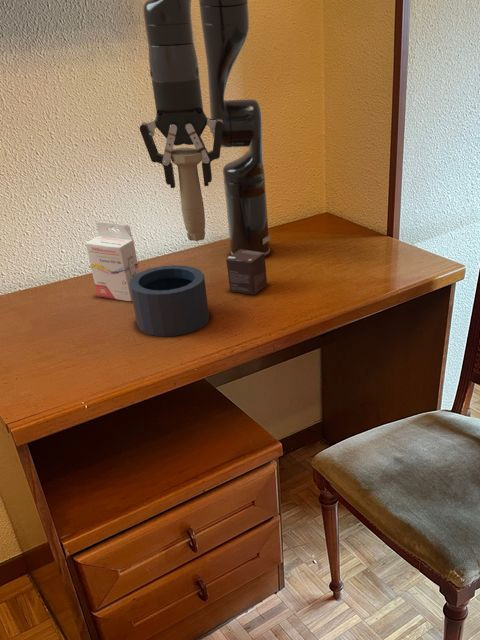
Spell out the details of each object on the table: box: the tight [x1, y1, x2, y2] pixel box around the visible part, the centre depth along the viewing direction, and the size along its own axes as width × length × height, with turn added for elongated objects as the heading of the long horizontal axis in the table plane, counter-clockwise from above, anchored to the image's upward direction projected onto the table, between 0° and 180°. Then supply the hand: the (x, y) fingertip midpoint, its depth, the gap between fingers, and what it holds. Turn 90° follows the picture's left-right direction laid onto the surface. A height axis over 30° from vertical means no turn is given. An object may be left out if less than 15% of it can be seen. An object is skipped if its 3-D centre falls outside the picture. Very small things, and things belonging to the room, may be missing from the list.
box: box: [225, 249, 268, 296], centre depth 139 cm, size 6×6×7 cm
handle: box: [171, 147, 206, 242], centre depth 116 cm, size 5×6×15 cm
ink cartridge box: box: [85, 221, 140, 302], centre depth 135 cm, size 9×5×15 cm, turn 71°
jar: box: [129, 264, 210, 337], centre depth 126 cm, size 14×14×8 cm
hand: (189, 185), depth 114 cm, fingers closed on handle, 5 cm apart
